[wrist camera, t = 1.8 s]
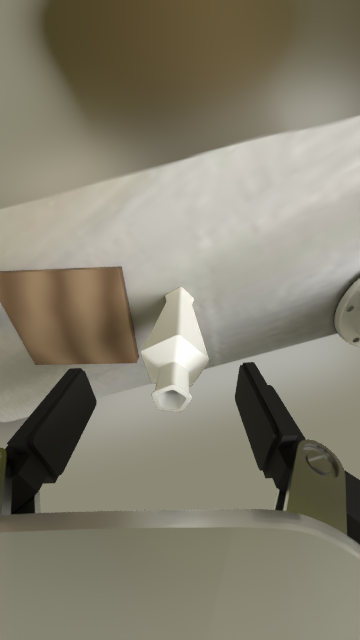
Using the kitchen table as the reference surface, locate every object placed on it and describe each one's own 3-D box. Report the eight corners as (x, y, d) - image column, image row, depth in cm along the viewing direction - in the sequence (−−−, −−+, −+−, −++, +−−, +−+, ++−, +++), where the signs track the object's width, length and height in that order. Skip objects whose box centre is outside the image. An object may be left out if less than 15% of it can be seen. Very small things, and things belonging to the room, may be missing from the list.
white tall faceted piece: (173, 322, 24) (158, 434, 10) (156, 296, 22) (114, 390, 9) (202, 308, 23) (228, 413, 9) (187, 280, 21) (192, 358, 8)
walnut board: (121, 266, 20) (117, 268, 19) (138, 356, 27) (136, 363, 25) (-3, 271, 21) (-16, 273, 20) (42, 358, 27) (35, 364, 26)
